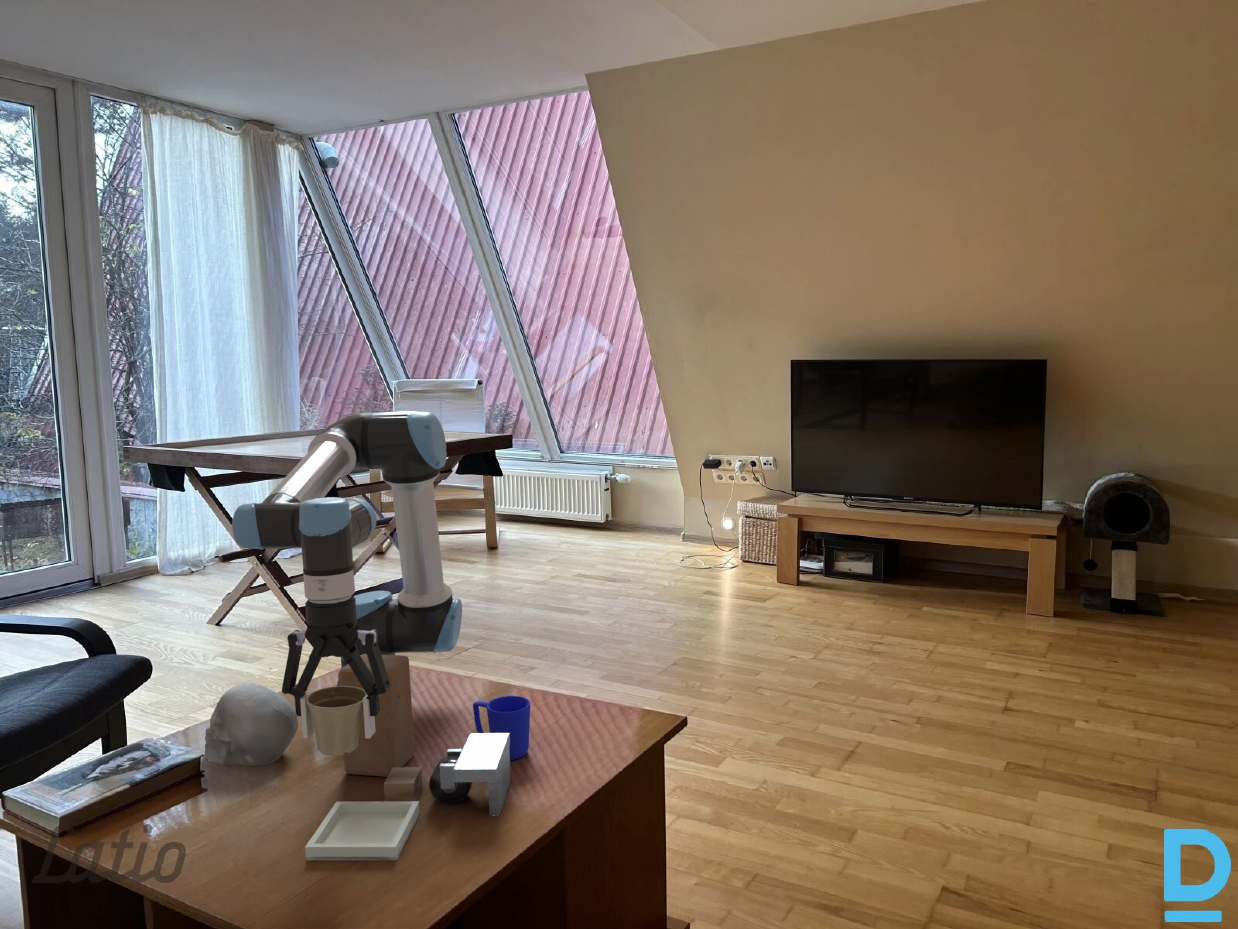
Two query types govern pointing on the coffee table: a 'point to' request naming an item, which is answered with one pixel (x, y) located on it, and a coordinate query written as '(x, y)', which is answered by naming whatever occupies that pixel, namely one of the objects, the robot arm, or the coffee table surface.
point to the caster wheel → (474, 770)
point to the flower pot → (336, 718)
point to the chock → (403, 784)
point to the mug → (508, 721)
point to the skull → (250, 727)
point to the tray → (363, 831)
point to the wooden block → (384, 722)
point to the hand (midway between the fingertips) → (339, 734)
